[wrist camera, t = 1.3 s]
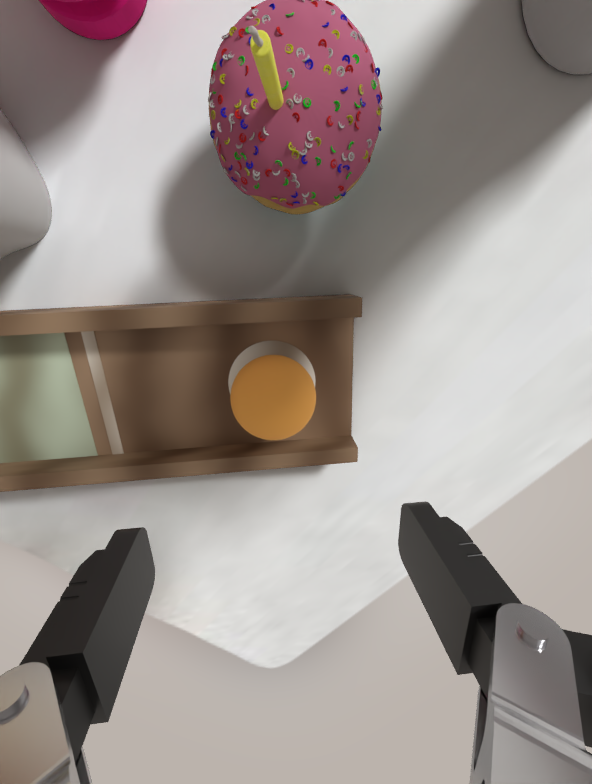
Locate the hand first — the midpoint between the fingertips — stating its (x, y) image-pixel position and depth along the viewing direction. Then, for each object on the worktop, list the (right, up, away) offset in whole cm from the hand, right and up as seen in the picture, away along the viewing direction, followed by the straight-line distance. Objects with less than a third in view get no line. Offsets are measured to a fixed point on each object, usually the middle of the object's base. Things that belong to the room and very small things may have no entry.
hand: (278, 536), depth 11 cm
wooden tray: (-10, +5, +15) cm, 19 cm away
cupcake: (0, +20, +10) cm, 22 cm away
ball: (-1, +4, +12) cm, 12 cm away
